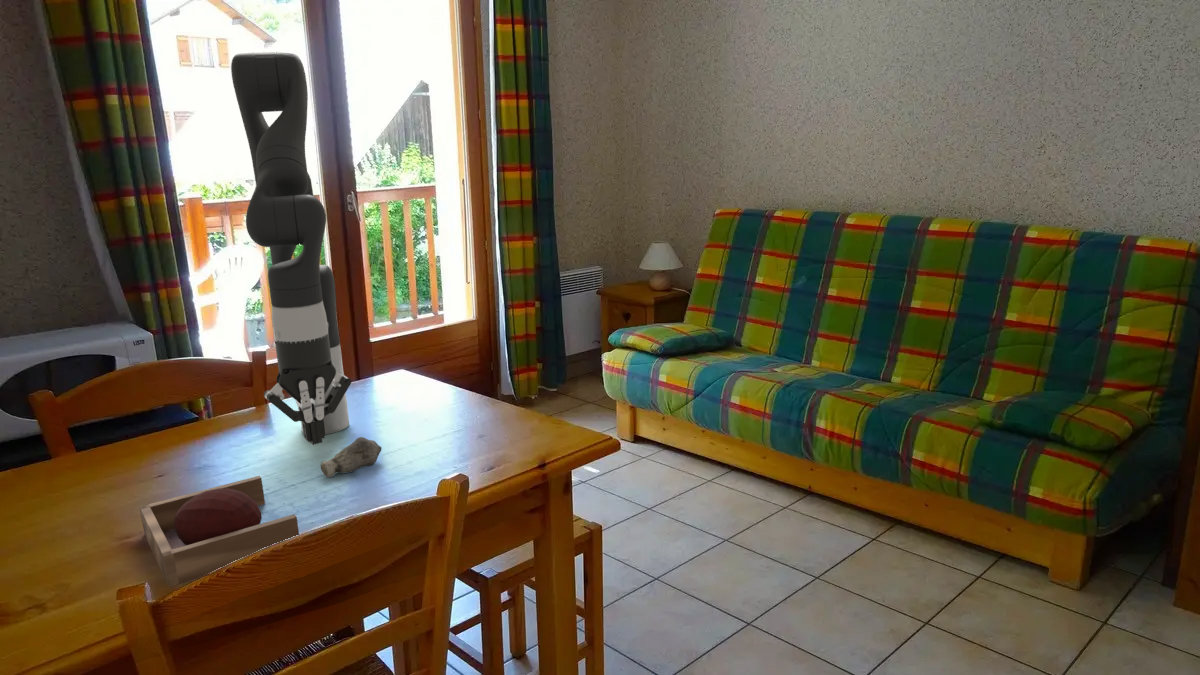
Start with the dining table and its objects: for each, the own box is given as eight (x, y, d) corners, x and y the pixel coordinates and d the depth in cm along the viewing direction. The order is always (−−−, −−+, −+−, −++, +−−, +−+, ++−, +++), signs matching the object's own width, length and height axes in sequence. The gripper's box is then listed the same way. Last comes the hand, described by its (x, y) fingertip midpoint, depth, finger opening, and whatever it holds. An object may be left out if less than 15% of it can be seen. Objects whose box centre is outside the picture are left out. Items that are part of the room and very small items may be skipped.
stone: (324, 486, 140) (353, 459, 137) (310, 460, 141) (338, 433, 139) (363, 479, 149) (391, 454, 146) (349, 455, 150) (377, 429, 148)
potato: (176, 540, 120) (167, 487, 118) (256, 520, 126) (249, 470, 124) (182, 573, 111) (172, 517, 109) (269, 550, 116) (261, 496, 114)
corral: (144, 534, 123) (139, 506, 121) (263, 501, 133) (259, 475, 131) (169, 587, 107) (163, 556, 106) (300, 545, 117) (296, 516, 116)
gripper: (336, 320, 126) (348, 425, 131) (247, 336, 119) (263, 446, 123) (354, 329, 121) (366, 438, 125) (261, 346, 113) (278, 461, 118)
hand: (315, 442), depth 124 cm, fingers closed
